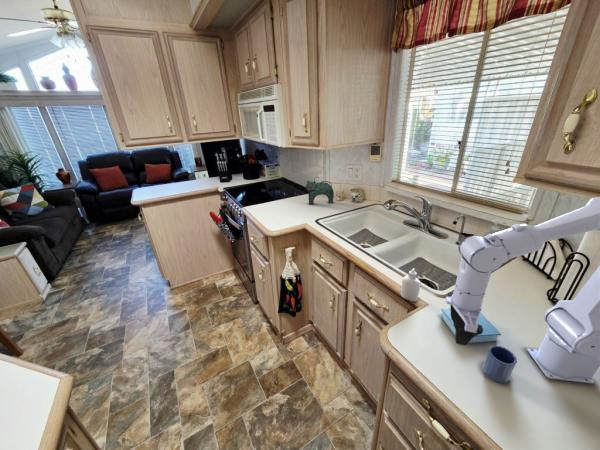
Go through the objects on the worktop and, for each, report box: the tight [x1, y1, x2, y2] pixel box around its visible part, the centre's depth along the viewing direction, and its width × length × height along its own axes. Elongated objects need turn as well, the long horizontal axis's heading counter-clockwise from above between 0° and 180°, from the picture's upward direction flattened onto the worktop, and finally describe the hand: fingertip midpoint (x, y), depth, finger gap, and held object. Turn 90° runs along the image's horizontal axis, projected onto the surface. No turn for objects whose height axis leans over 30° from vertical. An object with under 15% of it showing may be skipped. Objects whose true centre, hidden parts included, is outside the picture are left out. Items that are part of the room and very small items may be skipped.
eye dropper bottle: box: [400, 268, 421, 302], centre depth 85 cm, size 4×6×12 cm
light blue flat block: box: [441, 307, 502, 344], centre depth 74 cm, size 11×11×3 cm
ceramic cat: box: [305, 176, 335, 206], centre depth 178 cm, size 20×6×20 cm, turn 90°
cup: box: [482, 345, 518, 384], centre depth 60 cm, size 5×5×6 cm
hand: (458, 331), depth 62 cm, fingers open, 7 cm apart
